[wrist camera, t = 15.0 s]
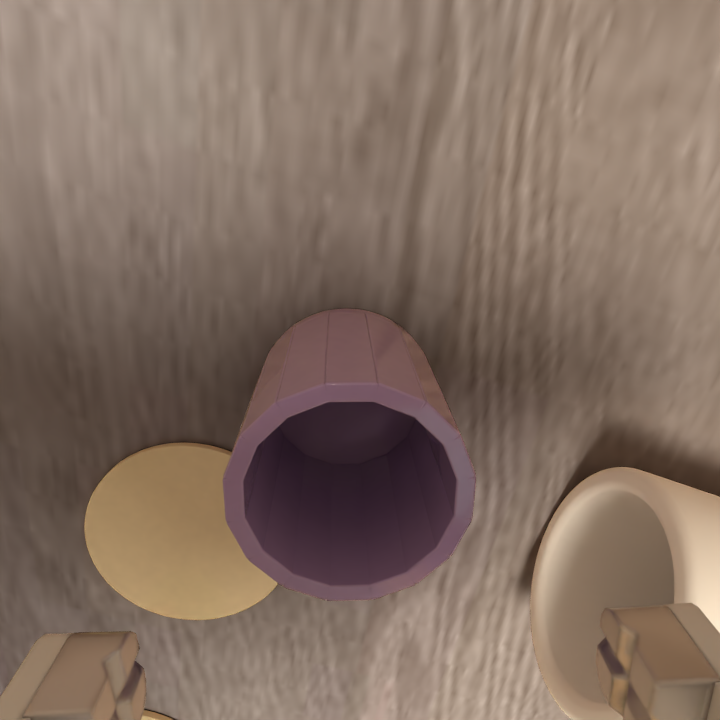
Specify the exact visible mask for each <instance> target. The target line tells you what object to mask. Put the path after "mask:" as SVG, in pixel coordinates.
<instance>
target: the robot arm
mask: <svg viewBox="0 0 720 720" xmlns="http://www.w3.org/2000/svg"><path fill="white" fill-rule="evenodd" d="M600 627H601V629H602V631H603V633H604V635H605V638H604V639H603V640H602V641H601V642H600V643H599V644H598V645H597V651H596V668H597V675H598V680H599V683H600V686H601V689H602V692H603V694H604V696H605V699H606V701H607V703H608V705H609V706H610V707H611V708H612V709H613V710H615V711H616V712H617V713H619V714H620V715H621V716H622V717H623V720H720V633H719V632H718V630H717V629H716V628H715V627H714V626H713V624H712V623H711V622H710V621H709V619H708V618H707V617H706V616H705V614H704V613H703V612H702V611H701V609H700V608H699V607H698V606H696V605H695V604H693V603H676V604H663V605H646V606H629V607H612V608H605V609H604V611H603V612H602V614H601V620H600ZM139 649H140V647H139V643H138V640H137V636H136V633H134V632H131V631H122V632H78V633H65V634H44V635H43V636H42V637H40V638H39V639H38V640H37V641H36V642H35V643H34V645H33V647H32V648H31V650H30V651H29V653H28V654H27V656H26V657H25V659H24V661H23V662H22V664H21V665H20V667H19V668H18V670H17V672H16V673H15V675H14V676H13V678H12V679H11V681H10V682H9V684H8V686H7V687H6V689H5V690H4V692H3V693H2V695H1V697H0V720H141V718H142V715H143V711H144V705H145V699H146V677H145V671H144V668H143V667H142V666H141V665H139V664H138V663H137V662H136V661H135V659H136V656H137V654H138V651H139Z"/></svg>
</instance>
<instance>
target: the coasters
mask: <svg viewBox="0 0 720 720" xmlns="http://www.w3.org/2000/svg"><path fill="white" fill-rule="evenodd" d="M230 455H231V452H230V451H228V450H225V449H222V448H218V447H215V446H211V445H205V444H199V443H184V442H182V443H168V444H163V445H157V446H153V447H150V448H147V449H144V450H141V451H139V452H137V453H134V454H132V455H130V456H128V457H127V458H125V459H124V460H122V461H121V462H119V463H118V464H117V465H115V466H114V467H113V468H112V469H111V470H110V471H109V472H108V473H107V474H106V475H105V476H104V477H103V479H102V480H101V481H100V482H99V484H98V485H97V487H96V489H95V490H94V492H93V493H92V496H91V498H90V500H89V503H88V506H87V510H86V514H85V524H84V530H85V540H86V544H87V548H88V552H89V554H90V556H91V559H92V561H93V563H94V565H95V566H96V568H97V570H98V572H99V573H100V574H101V576H102V577H103V578H104V579H105V581H106V582H107V583H108V584H109V585H110V586H111V587H112V588H113V589H114V590H115V591H116V592H118V593H119V594H120V595H122V596H123V597H124V598H125V599H127V600H129V601H130V602H132V603H134V604H135V605H137V606H139V607H141V608H143V609H145V610H148V611H150V612H153V613H156V614H159V615H162V616H167V617H171V618H176V619H184V620H209V619H216V618H222V617H226V616H229V615H233V614H236V613H238V612H241V611H243V610H245V609H248V608H249V607H251V606H253V605H255V604H256V603H258V602H259V601H261V600H262V599H263V598H265V597H266V596H267V595H268V594H269V593H270V592H271V591H272V590H273V589H274V588H275V587H276V586H277V585H278V583H277V582H276V581H274V580H273V579H272V578H271V577H269V576H268V575H267V574H265V573H264V572H263V571H262V570H260V569H259V568H258V567H256V566H255V565H254V564H252V563H251V562H250V561H249V560H248V559H247V558H246V556H245V555H244V553H243V551H242V549H241V548H240V546H239V544H238V542H237V540H236V539H235V537H234V535H233V533H232V532H231V530H230V528H229V526H228V525H227V521H226V520H225V508H224V494H223V481H222V480H223V475H224V472H225V469H226V466H227V464H228V461H229V458H230ZM141 720H173V719H171V718H169V717H167V716H164V715H161V714H158V713H155V712H151V711H147V710H144V711H143V715H142V718H141Z"/></svg>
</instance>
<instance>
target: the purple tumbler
mask: <svg viewBox="0 0 720 720" xmlns="http://www.w3.org/2000/svg"><path fill="white" fill-rule="evenodd" d="M222 481H223V494H224V508H225V520H226V521H227V525H228V526H229V528H230V530H231V532H232V533H233V535H234V537H235V539H236V540H237V542H238V544H239V546H240V548H241V549H242V551H243V553H244V555H245V556H246V558H247V559H248V560H249V561H250V562H251V563H252V564H254V565H255V566H256V567H258V568H259V569H260V570H262V571H263V572H264V573H265V574H267V575H268V576H269V577H271V578H272V579H273V580H274V581H276V582H277V583H278V584H280V585H281V586H283V587H284V588H288V589H291V590H294V591H297V592H300V593H303V594H307V595H310V596H313V597H316V598H319V599H322V600H326V599H327V601H343V600H372V599H377V598H380V597H383V596H386V595H388V594H391V593H394V592H397V591H400V590H403V589H406V588H409V587H411V586H414V585H415V584H417V583H419V582H420V581H421V580H423V579H424V578H425V577H426V576H428V575H429V574H430V573H431V572H433V571H434V570H435V569H436V568H438V567H439V566H440V565H441V564H443V563H444V562H445V561H446V560H448V559H449V558H450V556H451V555H452V554H453V552H454V551H455V549H456V547H457V545H458V544H459V542H460V540H461V538H462V537H463V535H464V533H465V531H466V530H467V528H468V526H469V524H470V523H471V520H472V517H473V509H474V498H475V487H476V473H475V470H474V468H473V465H472V462H471V460H470V457H469V454H468V452H467V449H466V446H465V444H464V441H463V439H462V436H461V434H460V431H459V429H458V427H457V425H456V423H455V420H454V418H453V416H452V414H451V411H450V409H449V407H448V405H447V403H446V400H445V398H444V396H443V394H442V391H441V389H440V387H439V385H438V382H437V380H436V378H435V376H434V374H433V371H432V369H431V367H430V365H429V362H428V360H427V358H426V356H425V353H424V352H423V350H422V349H421V348H420V347H419V345H418V344H417V342H416V341H415V340H414V339H413V338H412V336H411V335H410V334H409V333H408V332H407V331H405V330H404V329H403V328H402V327H401V326H399V325H398V324H396V323H395V322H393V321H392V320H390V319H388V318H386V317H384V316H382V315H379V314H376V313H373V312H370V311H365V310H360V309H349V308H344V309H332V310H327V311H323V312H319V313H316V314H313V315H311V316H309V317H307V318H305V319H302V320H301V321H299V322H298V323H296V324H295V325H293V326H292V327H290V328H289V329H288V330H287V331H286V332H285V333H283V334H282V336H281V337H280V338H279V339H278V340H277V341H276V342H275V344H274V345H273V347H272V348H271V350H270V352H269V353H268V355H267V358H266V360H265V362H264V365H263V368H262V370H261V373H260V375H259V378H258V380H257V383H256V386H255V389H254V391H253V394H252V397H251V400H250V402H249V405H248V408H247V411H246V414H245V416H244V419H243V422H242V425H241V427H240V430H239V433H238V436H237V439H236V441H235V444H234V447H233V450H232V452H231V455H230V458H229V461H228V464H227V466H226V469H225V472H224V475H223V480H222Z"/></svg>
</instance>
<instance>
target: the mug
mask: <svg viewBox="0 0 720 720" xmlns="http://www.w3.org/2000/svg"><path fill="white" fill-rule="evenodd" d="M676 603H693V604H695V605H696V606H698V607H699V608H700V609H701V611H702V612H703V613H704V614H705V616H706V617H707V618H708V619H709V621H710V622H711V623H712V624H713V626H714V627H715V628H716V629H717V630H718V632H719V633H720V497H719V496H716V495H713V494H710V493H707V492H704V491H701V490H698V489H695V488H692V487H690V486H687V485H684V484H681V483H678V482H675V481H672V480H669V479H666V478H663V477H660V476H657V475H654V474H651V473H648V472H645V471H642V470H639V469H635V468H629V467H614V468H608V469H605V470H602V471H599V472H597V473H595V474H593V475H591V476H589V477H587V478H586V479H585V480H583V481H582V482H580V483H579V484H578V485H577V486H576V487H575V488H574V489H573V490H572V491H571V492H570V493H569V494H568V495H567V496H566V497H565V499H564V500H563V501H562V503H561V504H560V505H559V507H558V509H557V510H556V512H555V513H554V515H553V517H552V519H551V521H550V523H549V525H548V527H547V529H546V531H545V534H544V536H543V539H542V542H541V544H540V548H539V551H538V554H537V558H536V562H535V567H534V572H533V578H532V586H531V598H530V621H531V632H532V640H533V646H534V651H535V655H536V659H537V662H538V666H539V669H540V672H541V674H542V677H543V679H544V682H545V684H546V686H547V688H548V690H549V692H550V693H551V695H552V697H553V698H554V700H555V701H556V703H557V704H558V706H559V707H560V708H561V709H562V711H563V712H564V713H565V714H566V715H567V716H568V717H569V718H570V719H571V720H623V717H622V716H621V715H620V714H619V713H617V712H616V711H615V710H613V709H612V708H611V707H610V706H609V705H608V703H607V701H606V699H605V696H604V694H603V692H602V689H601V686H600V683H599V680H598V675H597V668H596V651H597V645H598V644H599V643H600V642H601V641H602V640H603V639H604V638H605V635H604V633H603V631H602V629H601V627H600V620H601V614H602V612H603V611H604V609H605V608H612V607H629V606H646V605H663V604H676Z"/></svg>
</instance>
